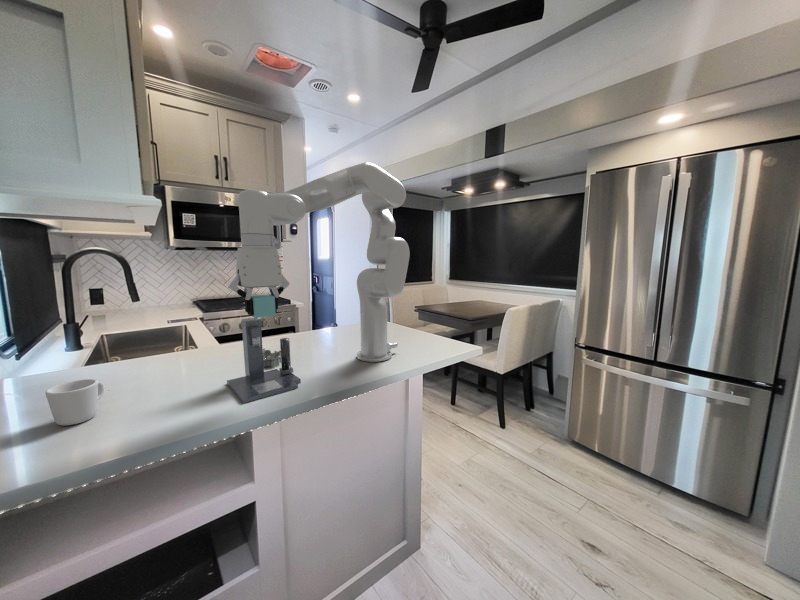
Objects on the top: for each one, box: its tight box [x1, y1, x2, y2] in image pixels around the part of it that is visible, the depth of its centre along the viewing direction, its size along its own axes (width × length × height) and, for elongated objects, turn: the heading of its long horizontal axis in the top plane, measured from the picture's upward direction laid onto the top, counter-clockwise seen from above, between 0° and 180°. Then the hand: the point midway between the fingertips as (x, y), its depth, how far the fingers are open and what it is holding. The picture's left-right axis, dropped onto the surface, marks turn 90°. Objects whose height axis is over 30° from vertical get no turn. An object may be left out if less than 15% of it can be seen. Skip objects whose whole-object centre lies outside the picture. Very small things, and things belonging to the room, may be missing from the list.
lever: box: [278, 337, 294, 375], centre depth 94 cm, size 3×3×10 cm
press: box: [226, 317, 302, 404], centre depth 87 cm, size 16×16×18 cm
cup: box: [45, 378, 104, 427], centre depth 71 cm, size 11×8×8 cm
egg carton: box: [262, 348, 281, 368], centre depth 107 cm, size 11×8×4 cm
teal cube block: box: [251, 294, 277, 319], centre depth 81 cm, size 5×5×5 cm
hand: (262, 312), depth 82 cm, fingers closed on teal cube block, 5 cm apart
